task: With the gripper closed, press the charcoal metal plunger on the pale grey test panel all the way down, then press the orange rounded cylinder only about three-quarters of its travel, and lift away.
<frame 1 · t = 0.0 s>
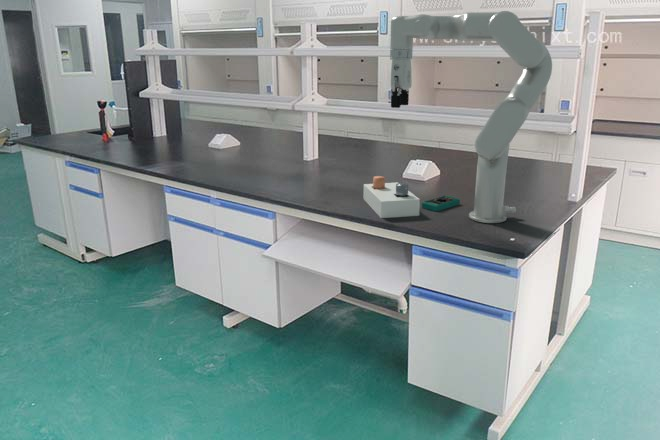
hand: (399, 106, 185), 37 cm above the worktop, tool pointing down, fingers open, 9 cm apart
orange rounded cylinder: (379, 184, 202), point 7 cm above the worktop, slide at 0.0 cm
charcoal plunger: (402, 191, 190), point 7 cm above the worktop, slide at 0.0 cm
digital multimeter: (440, 207, 199), on the worktop
test panel: (389, 206, 198), on the worktop
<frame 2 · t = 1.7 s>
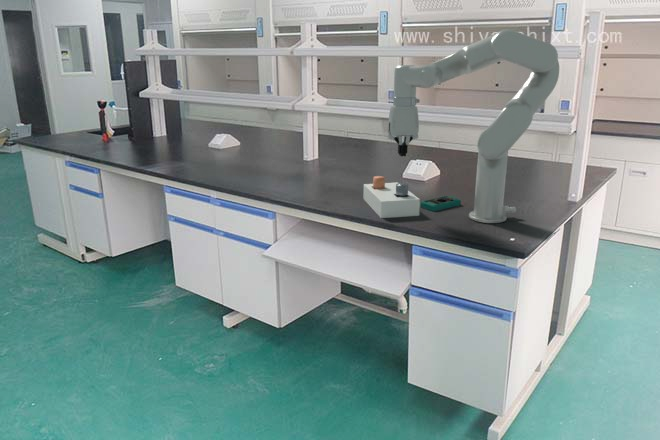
hand: (402, 155, 186), 21 cm above the worktop, tool pointing down, fingers closed
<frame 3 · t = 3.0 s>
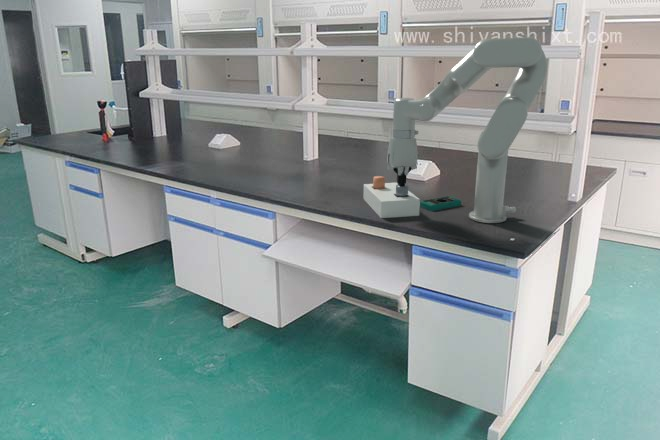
hand: (401, 185, 190), 10 cm above the worktop, tool pointing down, fingers closed
charcoal plunger: (401, 192, 190), point 7 cm above the worktop, slide at 0.4 cm, touching gripper
everything else where it was.
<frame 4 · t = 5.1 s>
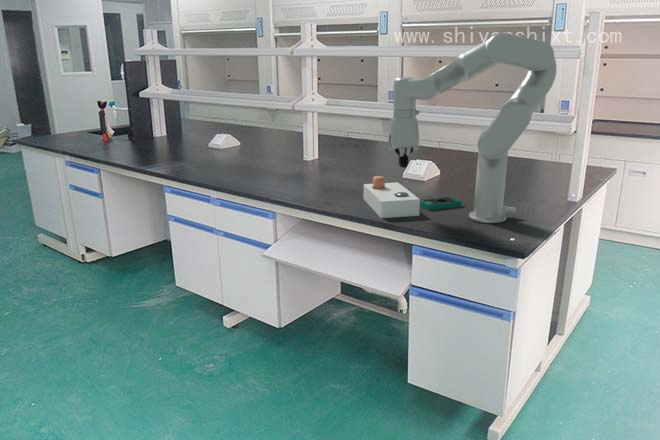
hand: (403, 166, 187), 16 cm above the worktop, tool pointing down, fingers closed
charcoal plunger: (401, 201, 191), point 4 cm above the worktop, slide at 3.4 cm
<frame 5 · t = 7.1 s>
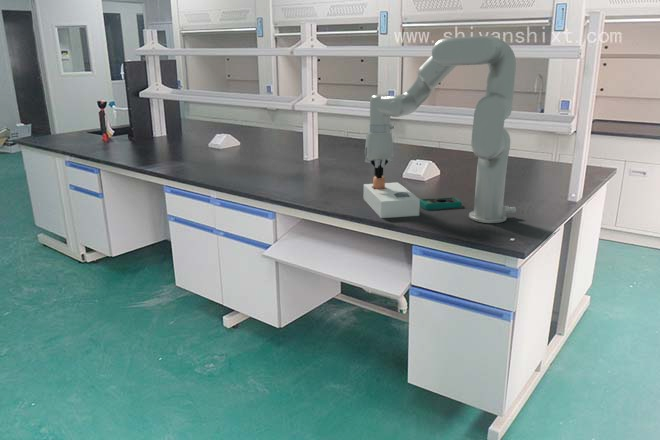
hand: (378, 177, 201), 10 cm above the worktop, tool pointing down, fingers closed
orange rounded cylinder: (379, 184, 202), point 7 cm above the worktop, slide at 0.0 cm, touching gripper
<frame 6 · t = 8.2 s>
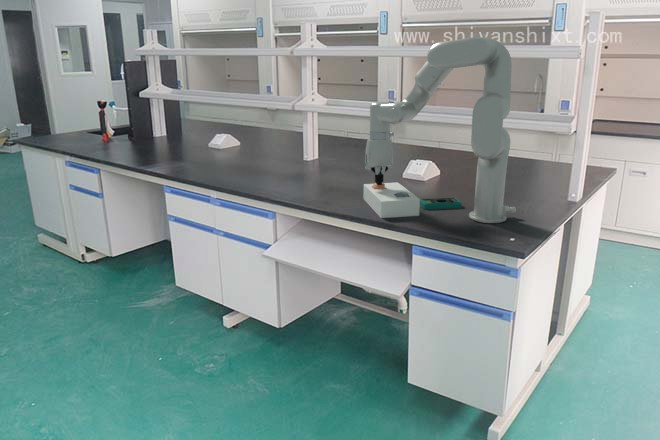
hand: (378, 184, 202), 7 cm above the worktop, tool pointing down, fingers closed
orange rounded cylinder: (378, 191, 202), point 5 cm above the worktop, slide at 2.7 cm, touching gripper
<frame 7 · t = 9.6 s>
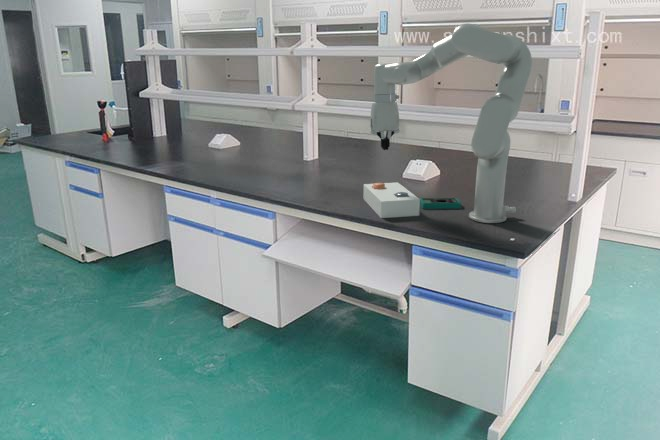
hand: (385, 149, 197), 21 cm above the worktop, tool pointing down, fingers closed
orange rounded cylinder: (378, 191, 202), point 5 cm above the worktop, slide at 2.7 cm
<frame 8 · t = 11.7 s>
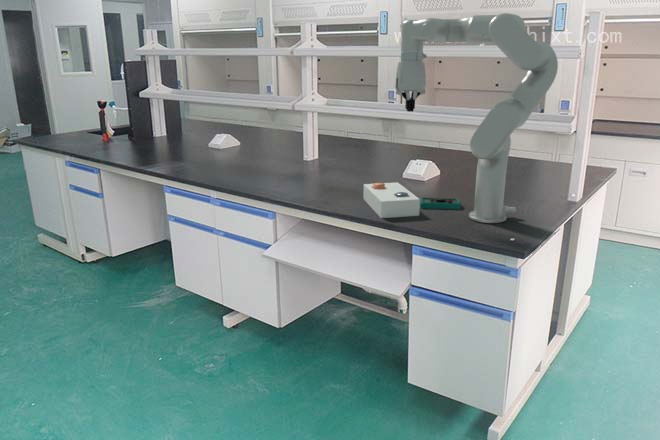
hand: (409, 111, 190), 35 cm above the worktop, tool pointing down, fingers closed
at the end: charcoal plunger slide at 3.4 cm; orange rounded cylinder slide at 2.7 cm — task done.
